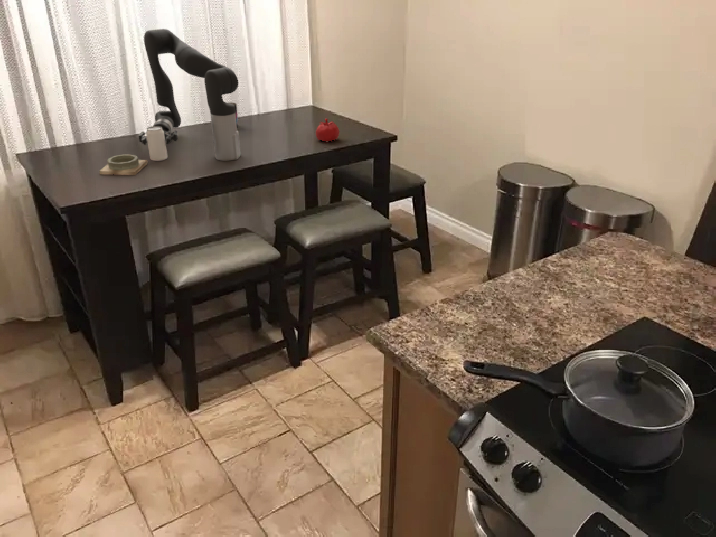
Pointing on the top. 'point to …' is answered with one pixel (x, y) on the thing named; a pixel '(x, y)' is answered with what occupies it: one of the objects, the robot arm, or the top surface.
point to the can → (156, 143)
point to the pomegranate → (327, 131)
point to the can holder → (123, 165)
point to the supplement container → (235, 112)
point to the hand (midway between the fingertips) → (155, 141)
